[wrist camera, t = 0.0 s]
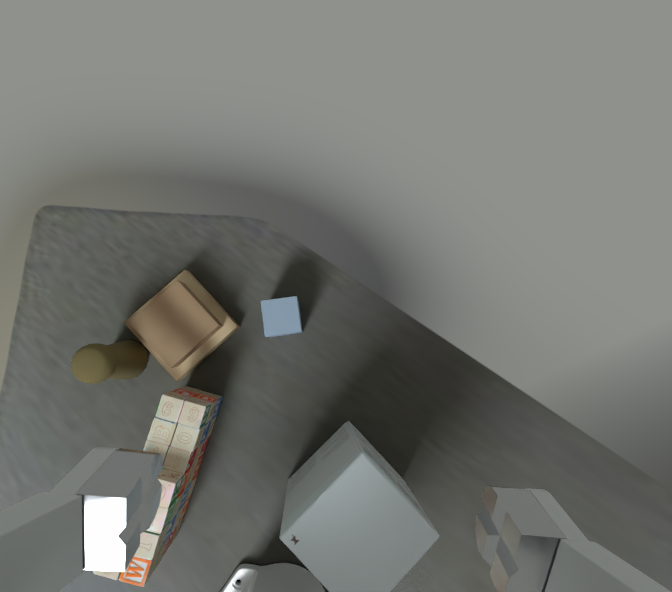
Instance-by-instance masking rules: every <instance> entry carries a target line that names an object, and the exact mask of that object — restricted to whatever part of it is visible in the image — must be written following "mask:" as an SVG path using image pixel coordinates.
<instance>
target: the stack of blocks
mask: <svg viewBox="0 0 672 592" xmlns="http://www.w3.org/2000/svg"><path fill="white" fill-rule="evenodd" d="M221 401H222V396H219V395H215V394H212V393H209V392H205V391H202V390H199V389H196V388H192V387H188V386H185V387H182V388H180V389H177V390H174V391H172V392H168V393H165V394H163V395H162V397H161V400H160V403H159V406H158V409H157V412H156V416H155V417H154V420H153V423H152V426H151V429H150V432H149V435H148V438H147V441H146V443H145V446H144V449H143V451H146V452H154V453H160V454H161V455H162V456H163V469H162V470H161V472H160V474H159V475H158V477H157V478H158V480H159V481H160V483H161V484H162V492H161V499H160V504H159V507H158V510H157V513H156V516H155V518H154V520H153V522H152V524H151V526H150V528H149V529H147V530H146V531H144V532H143V533H141V534H140V546H139V548H138V549H137V551H136V553H135V555H134V556H133V558H132V560H131V562H130V563H129V565H128V567H127V569H126V571H125V572H116V571H96V570H94V571H93V573H94V574H96V575H100V576H104V577H107V578H111V579H114V580H117V579H119V580H120V581H122V582H126V583H129V584H133V585H137V586H142V587H143V586H144V585H145V584H146V582H147V581H148V579H149V577H150V576H151V574H152V572H153V571H154V570H155V568H156V567H157V565H158V564H159V562H160V561H161V559H162V557H163V555H164V554H165V552H166V550H167V549H168V547H169V546H170V545H171V544H172V542H173V540H174V539H175V537H176V536H177V534H178V531H179V528H180V525H181V522H182V519H183V516H184V514H185V512H186V509H187V506H188V503H189V500H190V497H191V493H192V491H193V488H194V485H195V482H196V479H197V476H198V474H197V473H198V471H199V467H200V464H201V461H202V458H203V454H204V451H205V448H206V445H207V442H208V439H209V436H210V435H211V432H212V429H213V426H214V423H215V420H216V417H217V413H218V410H219V407H220V404H221Z"/></svg>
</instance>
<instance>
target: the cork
mask: <svg viewBox="0 0 672 592" xmlns="http://www.w3.org/2000/svg"><path fill="white" fill-rule="evenodd" d="M147 362H148V355H147V352H146V349H145V348H144V347H143V345H142V344H140V343H138V342H137V341H133V340H124V341H121V342H117V343H114V344H111V345H107V346H106V345H103V344H89V345H86V346H84V347H82V348H81V349H79V350H78V351H77V352H76V353H75V355H74V356H73V359H72V362H71V369H72V371H73V374H74V375H75V377H76V378H77V379H78V380H80V381H82V382H85V383H89V384H93V383H100V382H102V381H105V380H106V379H108V378H112V379H132V378H134V377H137V376H138V375H140V374H141V373H142V372H143V371H144V369H145V368H146V365H147Z"/></svg>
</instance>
